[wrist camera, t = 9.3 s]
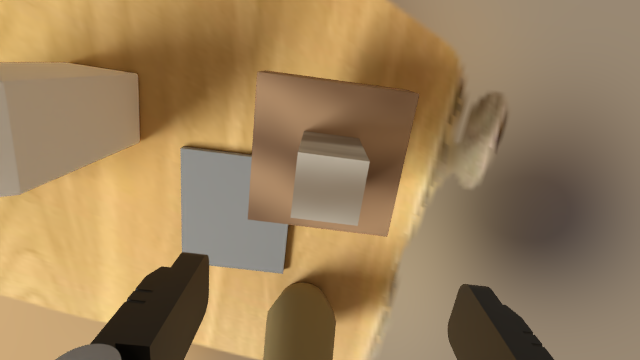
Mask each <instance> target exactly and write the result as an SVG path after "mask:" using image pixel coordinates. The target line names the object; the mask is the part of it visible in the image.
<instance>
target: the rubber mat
mask: <svg viewBox="0 0 640 360" xmlns="http://www.w3.org/2000/svg"><path fill="white" fill-rule="evenodd" d="M251 161H252V155H249V154H241V153H233V152H225V151H217V150H209V149H200V148H192V147H182V148H181V210H182V252H187V253H196V254H205V255H208V256H209V265H211V266H220V267H229V268H238V269H247V270H255V271H264V272H273V273H282V274H283V270H284V261H285V252H286V242H287V233H288V224H280V223H272V222H264V221H256V220H248V206H249V191H250V176H251Z"/></svg>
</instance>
